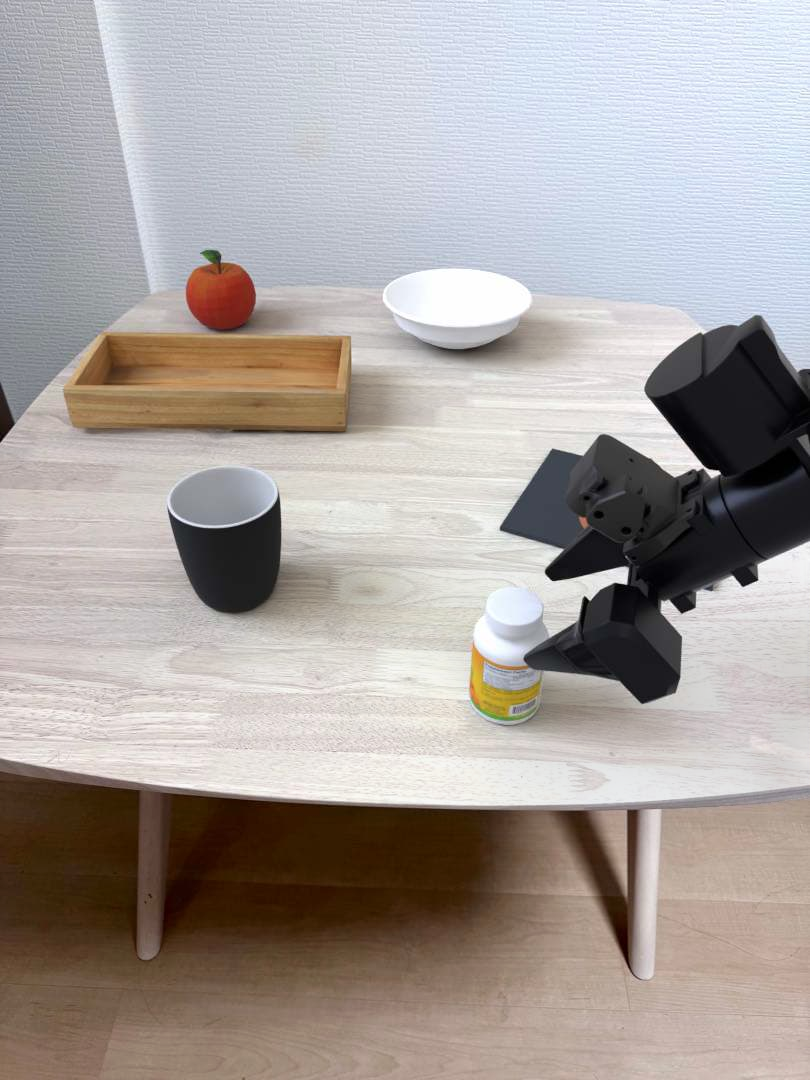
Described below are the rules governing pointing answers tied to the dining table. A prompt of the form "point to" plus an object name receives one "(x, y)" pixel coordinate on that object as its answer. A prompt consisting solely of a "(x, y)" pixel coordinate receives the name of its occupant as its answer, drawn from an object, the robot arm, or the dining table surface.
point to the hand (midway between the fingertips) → (538, 616)
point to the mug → (228, 535)
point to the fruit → (220, 293)
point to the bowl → (457, 306)
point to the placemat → (548, 505)
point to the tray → (212, 382)
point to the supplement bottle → (507, 657)
